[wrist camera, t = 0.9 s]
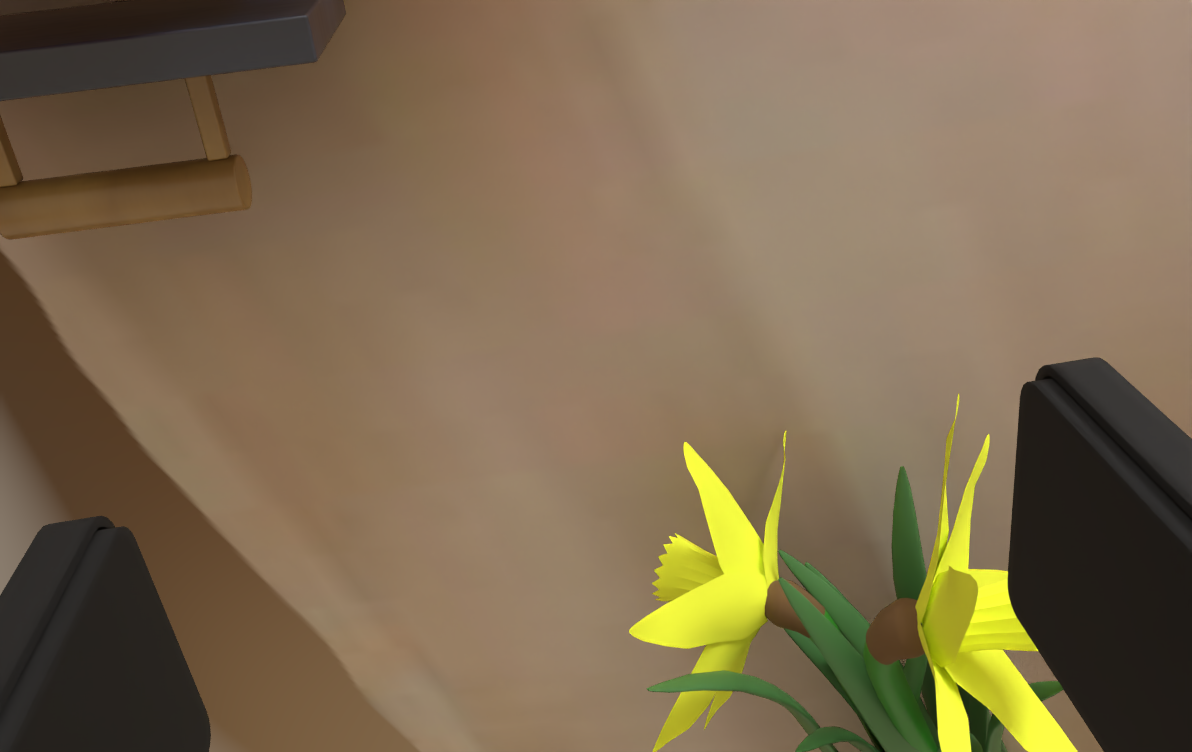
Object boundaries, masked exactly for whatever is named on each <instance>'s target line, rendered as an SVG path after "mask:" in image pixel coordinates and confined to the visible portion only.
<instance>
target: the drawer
mask: <svg viewBox="0 0 1192 752" xmlns="http://www.w3.org/2000/svg"><path fill="white" fill-rule="evenodd" d="M345 14H346V11H345V6H344V1H343V0H129V1H121V2H113V3H104V4H96V5H88V6H80V7H71V8H63V9H55V10H46V11H38V12H30V13H21V14H13V15H5V16H0V101H5V100H13V99H22V98H30V97H38V96H46V95H54V94H62V93H70V92H78V91H87V90H95V89H103V88H111V87H119V86H127V85H135V84H144V83H152V82H160V81H168V80H176V79H184V78H185V82H186V85H187V89H188V92H189V96H190V100H191V103H192V107H193V110H194V114H195V117H196V121H197V125H198V128H199V132H200V135H201V139H202V142H203V146H204V150H205V153H206V157H207V158H204V159H196V160H188V161H180V162H172V163H164V164H156V165H148V166H141V167H133V168H125V169H117V170H109V171H101V172H93V173H85V174H77V175H69V176H61V177H53V178H45V179H37V180H29V181H22V180H23V176H22V173H21V170H20V168H19V165H18V162H17V159H16V157H15V154H14V151H13V148H12V146H11V143H10V140H9V137H8V135H7V132H6V129H5V127H4V124H3V121H2V118H1V116H0V234H1V235H2V236H3V237H4V238H6V239H19V238H27V237H35V236H42V235H50V234H58V233H66V232H74V231H82V230H90V229H97V228H105V227H113V226H121V225H129V224H137V223H145V222H152V221H160V220H168V219H176V218H184V217H192V216H199V215H207V214H215V213H223V212H231V211H239V210H247V209H249V208H250V206H251V202H252V189H251V182H250V177H249V173H248V170H247V167H246V164H245V162H244V160H243V159H242V157H241V156H240V155H237V154H236V155H230V154H231V149H230V145H229V142H228V138H227V134H226V131H225V127H224V123H223V119H222V116H221V112H220V108H219V104H218V101H217V97H216V93H215V89H214V86H213V82H212V78H211V75H217V74H225V73H233V72H241V71H249V70H257V69H265V68H274V67H282V66H290V65H298V64H306V63H314V62H316V61H318V59H319V57H320V56H321V54H322V52H323V51H324V49H325V47H326V46H327V44H328V43H329V41H330V39H331V38H332V36H333V34H334V33H335V31H336V29H337V28H338V26H339V25H340V23H341V21H342V20H343V18H344V16H345ZM20 181H21V182H20Z"/></svg>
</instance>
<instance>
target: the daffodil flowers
mask: <svg viewBox="0 0 1192 752" xmlns="http://www.w3.org/2000/svg"><path fill="white" fill-rule="evenodd" d="M958 404H959V394H958V400H957V407H956V416H957V410H958ZM955 420H956V417H955ZM955 420H954V422H953V425H952V427H951V429H950V432H949V434H948V436H947V439H946V453H945V466H944V476H943V486H942V496H941V505H940V514H939V523H938V532H937V537H936V541H935V545H934V549H933V553H932V557H931V561H930V565H929V568H928V572H927V575H926V570H925V564H924V559H923V553H922V548H921V542H920V536H919V530H918V524H917V519H916V513H915V508H914V503H913V498H912V493H911V488H910V484H909V481H908V478H907V474H906V471H905V469H904V467H903V466H901V467H900V470H899V475H898V480H897V485H896V494H895V502H894V511H893V531H892V562H893V579H894V585H895V590H896V596H897V600H896V601H894V602H893V603H891V604H890V605H889V606H887V607H886V608H884V609H883V610H881V611H880V612H879V614H878V615H877V616H876V618H875V619H874V621H873V622H872V624H871V625H870V624H869V623H868V622H867V621H866V619H865V618H864V617H863V616H862V615H861V614H860V613H859V612H858V611H857V610H856V609H855V608H854V607H853V606H852V605H851V604H850V603H849V602H848V601H847V599H846V598H845V597H844V596H843V595H842V594H841V593H840V592H839V591H838V590H837V588H836V587H835V586H833V585H832V584H831V583H830V582H829V581H828V580H827V579H826V578H825V577H824V576H823V575H822V574H821V573H820V572H819V571H818V570H816V569H815V568H814V567H813V566H811V565H810V564H809V563H807V562H806V563H805V566H804V565H803V564H802V563H800V562H799V561H798V560H796V559H795V558H793V557H792V556H790V555H788V554H787V553H785V552H784V551H782V550H779V551H778V552H779V554H780V556H781V557H782V559H783V560H784V562H785V563H786V565H787V566H788V568H789V569H790V570H791V572H792V573H793V574H794V575H795V576H796V578H797V579H798V580H799V581H800V582H801V584H802V585H803V586H804V587H805V589H806V590H807V591H806V590H805V589H803V588H802V587H800V586H799V585H797V584H796V583H795V582H793V581H791V580H786V579H783V578H781V577H780V578H779V574H778V559H777V529H778V521H779V512H780V504H781V495H782V485H783V476H784V466H785V443H786V430H785V432H784V438H783V447H784V464H783V470H782V474H781V478H780V482H779V485H778V488H777V491H776V494H775V497H774V500H773V503H772V506H771V509H770V512H769V515H768V518H767V521H766V525H765V537H764V544H763V543H762V541H761V539H760V538H759V536H758V535H757V533H756V531H755V530H754V528H753V527H752V525H751V524H750V522H749V521H748V519H747V518H746V516H745V515H744V513H743V512H742V510H741V509H740V507H739V506H738V504H737V503H736V501H735V500H734V498H733V497H732V495H731V494H730V492H729V491H728V489H727V488H726V487H725V486H724V484H723V483H722V482H721V481H720V479H719V478H718V477H717V476H716V475H715V473H714V472H713V471H712V470H711V468H710V467H709V466H708V465H707V464H706V463H705V462H704V461H703V460H702V459H701V457H700V456H699V455H698V454H697V453H696V452H695V450H694V449H693V448H692V447H691V446H690V445H689V444H688V443H686V442H684V456H685V460H686V464H687V468H688V470H689V472H690V474H691V476H692V478H693V479H694V481H695V483H696V485H697V487H698V489H699V493H700V497H701V501H702V504H703V508H704V512H705V516H706V519H707V523H708V527H709V530H710V534H711V537H712V541H713V544H714V548H715V551H716V555H717V556H715V555H713V554H711V553H709V552H707V551H705V550H703V549H701V548H700V547H698V546H696V545H695V544H693V543H691V542H690V541H688V540H686V539H685V538H683V537H681V536H680V535H677V534H676V533H675V535H676V536H677V537H678V538H675V537H670V536H669V537H670V539H671V541H672V543H673V544H663V545H664V547H665V549H666V551H667V554H664V555H661V556H658V558H659V559H660V561H661V563H662V565H663V566H661V567H659V568H657V569H655V570H654V571H655V572H656V574H657V575H658V576H659V578H660V579H658V580H656V581H655V582H653V583H652V584H653V585H654V586H656V587H657V588H658V589H659V590H658V591H656V592H654V593H652V594H654V595H656V596H658V597H660V598H658V599H655V600H660V601H669V603H667V604H665V605H664V606H662V607H660V608H659V609H657V610H656V611H654V612H652V613H651V614H649V615H648V616H646V617H645V618H643V619H642V620H640V621H639V622H638V623H636V624H635V625H634V626H633V627H632V628H630V630H629V633H630V634H631V635H632V636H633V637H636V638H638V639H640V640H642V641H645V642H649V643H654V644H658V645H663V646H669V647H677V648H685V649H689V648H693V647H698V646H702V645H706V646H705V648H704V650H703V652H702V654H701V656H700V658H699V660H698V662H697V664H696V666H695V667H694V669H693V671H692V673H691V674H688V675H685V676H681V677H678V678H675V679H672V680H668V681H665V682H662V683H659V684H657V685H654V686H652V687H649V688H647V690H648V691H652V692H668V693H672V692H681V694H680V696H679V697H678V699H677V701H676V703H675V705H674V707H673V708H672V710H671V712H670V714H669V716H668V718H667V720H666V722H665V724H664V726H663V728H662V730H661V733H660V735H659V737H658V739H657V742H656V744H655V747H654V749H653V752H656V751H657V750H659V749H660V748H661V747H663V746H664V745H665V744H667V743H668V742H669V741H671V740H672V739H674V738H675V737H677V736H678V735H680V734H681V733H683V732H684V731H686V730H687V729H689V728H690V727H691V726H692V725H693V723H694V722H695V721H696V720H697V719H698V717H699V716H700V715H701V714H702V713H703V712H704V710H705V709H706V708H707V707H708V706H709V704H710V702H711V701H712V699H713V697H714V695H715V697H714V700H713V702H712V705H711V708H710V711H709V713H708V716H707V719H706V723H705V728H706V726H707V724H708V723H709V721H710V720H711V718H712V717H713V715H714V714H715V712H716V711H717V710H718V709H719V708H720V707H721V706H722V705H723V704H724V702H725V701H726V700H727V699H728V698H729V697H730V696H731V694H732V692H733V691H741V692H745V693H749V694H752V695H756V696H759V697H763V698H766V699H769V700H772V701H774V702H777V703H779V704H780V705H782V706H784V707H785V708H786V709H787V710H789V711H790V712H791V713H792V714H793V716H794V717H795V718H796V719H797V721H798V722H799V723H800V724H801V726H802V727H803V729H804V730H805V731H806V733H807V734H808V735H809V736H807V737H806V738H805V739H804V740H803V742H802V743H801V744H800V745H799V746H798V748H797V749H796V751H795V752H806V751H810V750H813V749H816V748H819V749H820V750H821V751H822V752H838V751H837V749H836V748H835V747H834V745H833V743H837V742H849V743H850V744H852V745H853V746H855V747H856V748H858V749H859V750H861V751H862V752H1007V750H1006V748H1005V745H1004V743H1003V741H1002V734H1003V730H1004V726H1005V727H1006V728H1007V730H1008V731H1009V732H1010V733H1011V734H1012V735H1013V736H1014V738H1015V739H1016V740H1017V741H1018V742H1019V743H1020V744H1021V746H1022V747H1023V748H1024V749H1025V750H1027V751H1028V752H1077V750H1076V749H1075V747H1074V746H1073V745H1072V743H1071V742H1070V740H1069V739H1068V738H1067V736H1066V735H1065V733H1064V732H1063V730H1062V729H1061V728H1060V726H1059V725H1058V724H1057V722H1056V721H1055V720H1054V718H1053V717H1052V716H1051V714H1050V713H1049V712H1048V710H1047V709H1046V708H1045V706H1044V705H1043V704H1042V702H1041V701H1043V700H1046V699H1048V698H1050V697H1052V696H1054V695H1056V694H1057V693H1059V692H1060V691H1062V690H1064V689H1063V688H1062V686H1061V685H1060V683H1059V682H1058V681H1047V682H1036V683H1031V684H1028V683H1027V682H1026V681H1025V679H1024V678H1023V677H1022V675H1021V674H1020V673H1019V671H1018V670H1017V669H1016V667H1015V666H1014V664H1013V663H1012V662H1011V660H1010V659H1009V658H1008V656H1007V655H1006V654H1005V652H1004V651H1003V650H1022V651H1038V649H1037V648H1036V646H1035V645H1034V643H1033V642H1032V640H1031V639H1030V637H1029V636H1028V634H1027V632H1026V631H1025V629H1024V628H1023V626H1022V625H1021V623H1020V622H1019V620H1018V619H1017V617H1016V615H1015V613H1014V611H1013V608H1012V605H1011V602H1010V598H1009V593H1008V571H1001V570H984V569H968V562H969V540H970V520H971V512H972V504H973V497H974V489H975V484H976V482H977V480H978V478H979V475H980V473H981V471H982V469H983V467H984V465H985V463H986V459H987V454H988V449H989V434H988V435H987V437H986V440H985V442H984V445H983V448H982V450H981V452H980V455H979V457H978V459H977V461H976V463H975V466H974V468H973V471H972V473H971V476H970V478H969V481H968V483H967V486H966V488H965V491H964V495H963V498H962V501H961V505H960V508H959V511H958V515H957V518H956V521H955V525H954V528H953V531H952V534H951V537H950V539H949V541H948V544H947V539H948V533H949V527H948V511H947V496H946V479H947V472H948V465H949V459H950V452H951V446H952V439H953V433H954V426H955ZM946 544H947V546H946ZM767 618H768V619H769V620H770V621H771V622H772V623H773V624H775V625H776V626H778V627H782V628H784V630H785V631H786V632H787V634H788V635H789V636H790V637H791V638H792V640H793V641H794V642H795V643H796V644H797V645H798V646H799V648H800V649H801V650H802V651H803V652H804V653H805V654H806V656H807V657H808V658H809V659H810V660H811V661H812V662H813V663H814V664H815V666H816V667H817V668H818V669H819V670H820V671H821V672H822V673H823V674H824V676H825V677H826V678H827V679H828V680H829V681H830V683H831V684H832V685H833V686H834V687H835V688H836V690H837V691H838V692H839V693H840V694H841V695H842V697H843V698H844V699H845V700H846V701H847V703H848V704H849V705H850V706H851V707H852V709H853V710H854V711H855V713H856V714H857V716H858V717H859V719H860V721H861V723H862V725H863V726H864V728H865V730H866V732H867V734H868V735H869V737H870V739H871V741H872V743H873V744H874V746H875V747H873V746H872V745H870V744H869V743H868V742H866V741H865V740H863V739H862V738H861V737H859V736H858V735H856V734H854V733H852V732H850V731H848V730H845V729H843V728H840V727H823V728H820V727H819V725H818V724H817V723H816V721H815V720H814V719H813V718H812V716H811V715H810V714H809V713H808V712H807V711H806V710H805V709H804V708H803V707H802V706H801V705H800V704H799V703H798V702H797V701H796V700H794V699H793V698H792V697H791V696H790V695H788V694H787V693H785V692H784V691H782V690H781V689H779V688H778V687H776V686H775V685H773V684H771V683H768V682H766V681H764V680H762V679H759V678H757V677H754V676H749V675H745V674H741V673H742V671H743V668H744V664H745V661H746V657H747V654H748V650H749V647H750V643H751V641H752V640H753V638H754V637H755V636H756V634H757V632H758V631H759V629H760V627H761V626H762V625H763V624H765V623H766V622H767V621H768V620H767ZM901 659H907V661H906V663H905V666H904V667H903V666H902V664H901V662H900V661H899V660H901ZM921 691H922V694H923V698H924V701H925V705H926V708H927V710H926V708H925V706H924V704H923V702H922V700H921V698H920V693H921ZM715 693H716V694H715ZM965 710H966V711H965ZM989 710H991V711H992V713H993V714H992V717H991V716H990V713H989ZM966 712H967V714H968V716H969V720H970V732H969V724H968V717H967V714H966ZM705 728H704V730H705Z"/></svg>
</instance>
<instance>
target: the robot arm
mask: <svg viewBox="0 0 1192 752" xmlns="http://www.w3.org/2000/svg"><path fill="white" fill-rule="evenodd" d="M1008 593H1009V598H1010V602H1011V605H1012V608H1013V611H1014V613H1015V615H1016V617H1017V619H1018V620H1019V622H1020V623H1021V625H1022V626H1023V628H1024V629H1025V631H1026V632H1027V634H1028V636H1029V637H1030V639H1031V640H1032V642H1033V643H1034V645H1035V646H1036V648H1037V649H1038V651H1039V652H1040V654H1041V655H1042V657H1043V659H1044V660H1045V662H1046V663H1047V665H1048V666H1049V668H1050V669H1051V671H1052V672H1053V674H1054V675H1055V677H1056V679H1057V680H1058V682H1059V683H1060V685H1061V686H1062V688H1063V689H1064V691H1065V692H1066V694H1067V695H1068V697H1069V699H1070V700H1071V702H1072V703H1073V705H1074V706H1075V708H1076V709H1077V711H1078V712H1079V714H1080V715H1081V717H1082V718H1083V720H1084V722H1085V723H1086V725H1087V726H1088V728H1089V729H1090V731H1091V732H1092V734H1093V735H1094V737H1095V738H1096V740H1097V742H1098V743H1099V745H1100V746H1101V748H1102V749H1103V751H1104V752H1192V439H1191V438H1190V437H1189V436H1188V435H1186V434H1185V433H1184V432H1183V431H1182V430H1181V429H1180V428H1179V427H1178V426H1177V425H1175V424H1174V423H1173V422H1172V421H1171V420H1170V419H1169V418H1168V417H1167V416H1166V415H1164V414H1163V413H1162V412H1161V411H1160V410H1159V409H1158V408H1157V407H1156V406H1155V405H1153V404H1152V403H1151V402H1150V401H1149V400H1148V399H1147V398H1146V397H1145V396H1143V395H1142V394H1141V393H1140V392H1139V391H1138V390H1137V389H1136V388H1135V387H1134V386H1132V385H1131V384H1130V383H1129V382H1128V381H1127V380H1126V379H1125V378H1124V377H1123V376H1121V375H1120V374H1119V373H1118V372H1117V371H1116V370H1115V369H1114V368H1113V367H1112V366H1110V365H1109V364H1108V363H1107V362H1106V361H1104V360H1103V359H1101V358H1089V359H1082V360H1076V361H1070V362H1064V363H1057V364H1051V365H1045V366H1043V367H1042V368H1040V369H1039V371H1038V373H1037V375H1036V379H1035V381H1031V382H1027V383H1025V384H1024V385H1023V388H1022V390H1021V395H1020V407H1019V421H1018V436H1017V450H1016V465H1015V479H1014V494H1013V508H1012V523H1011V537H1010V551H1009V566H1008ZM210 736H211V734H210V724H209V718H208V715H207V711H206V709H205V706H204V704H203V702H202V699H201V697H200V694H199V692H198V690H197V687H196V685H195V682H194V680H193V677H192V675H191V673H190V670H189V668H188V665H187V663H186V661H185V658H184V656H183V653H182V651H181V648H180V646H179V643H178V641H177V639H176V636H175V634H174V631H173V629H172V627H171V624H170V622H169V619H168V617H167V614H166V612H165V610H164V607H163V605H162V603H161V600H160V598H159V595H158V593H157V590H156V588H155V586H154V583H153V581H152V578H151V576H150V573H149V571H148V568H147V566H146V564H145V561H144V559H143V556H142V554H141V552H140V549H139V547H138V544H137V542H136V539H135V537H134V535H133V534H132V532H131V531H130V530H129V529H128V528H127V527H116V528H115V526H114V524H113V523H112V522H111V521H110V520H109V519H108V518H107V517H104V516H97V517H90V518H84V519H79V520H72V521H65V522H59V523H53V524H48V525H45V526H43V527H42V529H41V530H40V531H39V532H38V533H37V535H36V537H35V538H34V540H33V542H32V543H31V545H30V547H29V548H28V550H27V552H26V553H25V555H24V557H23V558H22V560H21V562H20V563H19V565H18V567H17V569H16V570H15V572H14V574H13V575H12V577H11V579H10V580H9V582H8V584H7V585H6V587H5V589H4V590H3V592H2V594H1V595H0V752H209V747H210Z"/></svg>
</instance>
